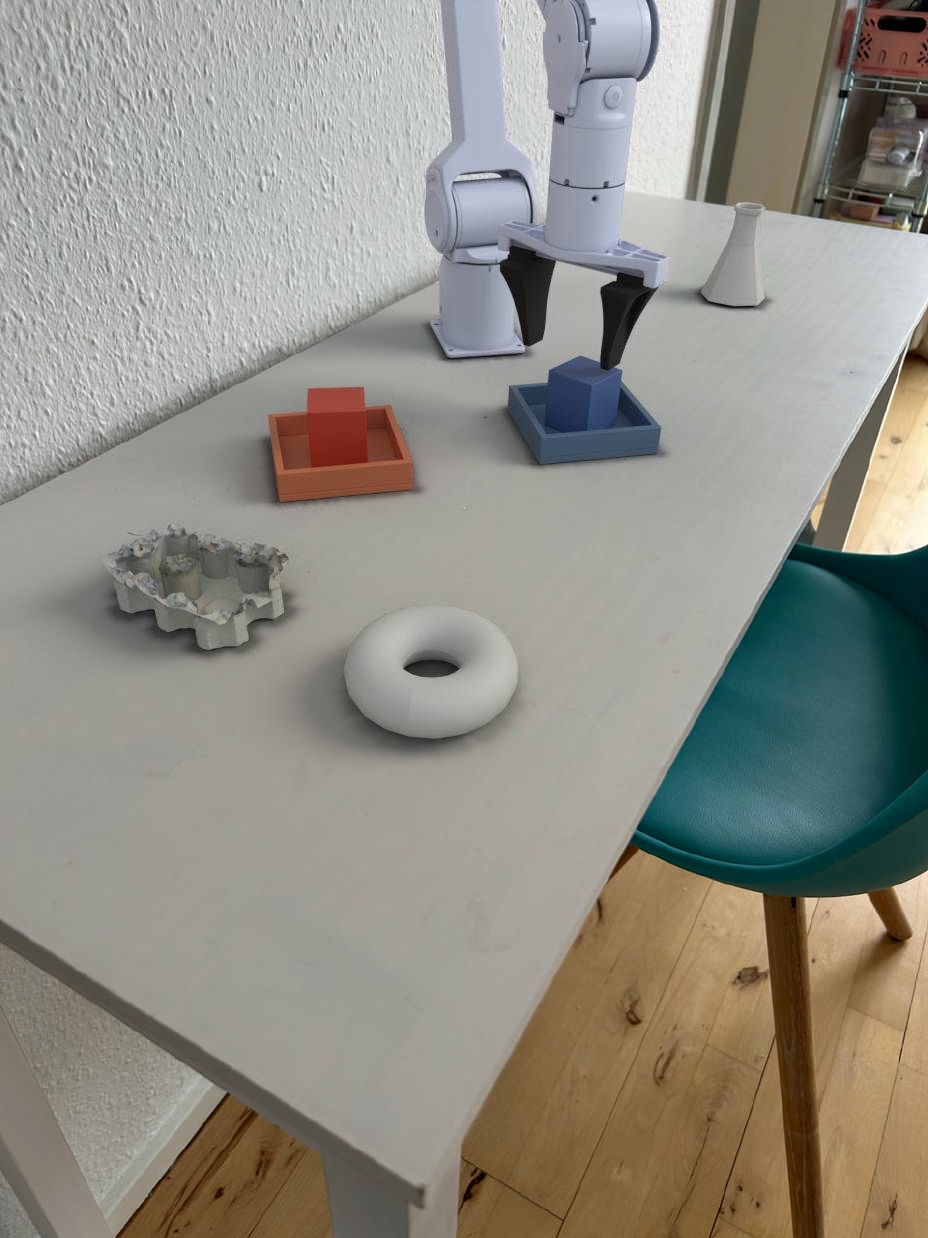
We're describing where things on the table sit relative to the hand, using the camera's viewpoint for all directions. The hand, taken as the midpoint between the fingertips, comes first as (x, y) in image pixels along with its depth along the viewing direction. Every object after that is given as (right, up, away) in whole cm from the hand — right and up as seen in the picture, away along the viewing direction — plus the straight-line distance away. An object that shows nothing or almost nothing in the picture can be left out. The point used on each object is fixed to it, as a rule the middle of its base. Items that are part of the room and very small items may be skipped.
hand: (570, 353), depth 80 cm
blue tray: (+1, -6, +2) cm, 7 cm away
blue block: (+1, -6, +2) cm, 6 cm away
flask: (+22, +15, +30) cm, 40 cm away
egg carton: (-26, -21, -18) cm, 38 cm away
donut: (-11, -26, -24) cm, 37 cm away
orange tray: (-19, -10, -3) cm, 22 cm away
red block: (-19, -9, -3) cm, 21 cm away
